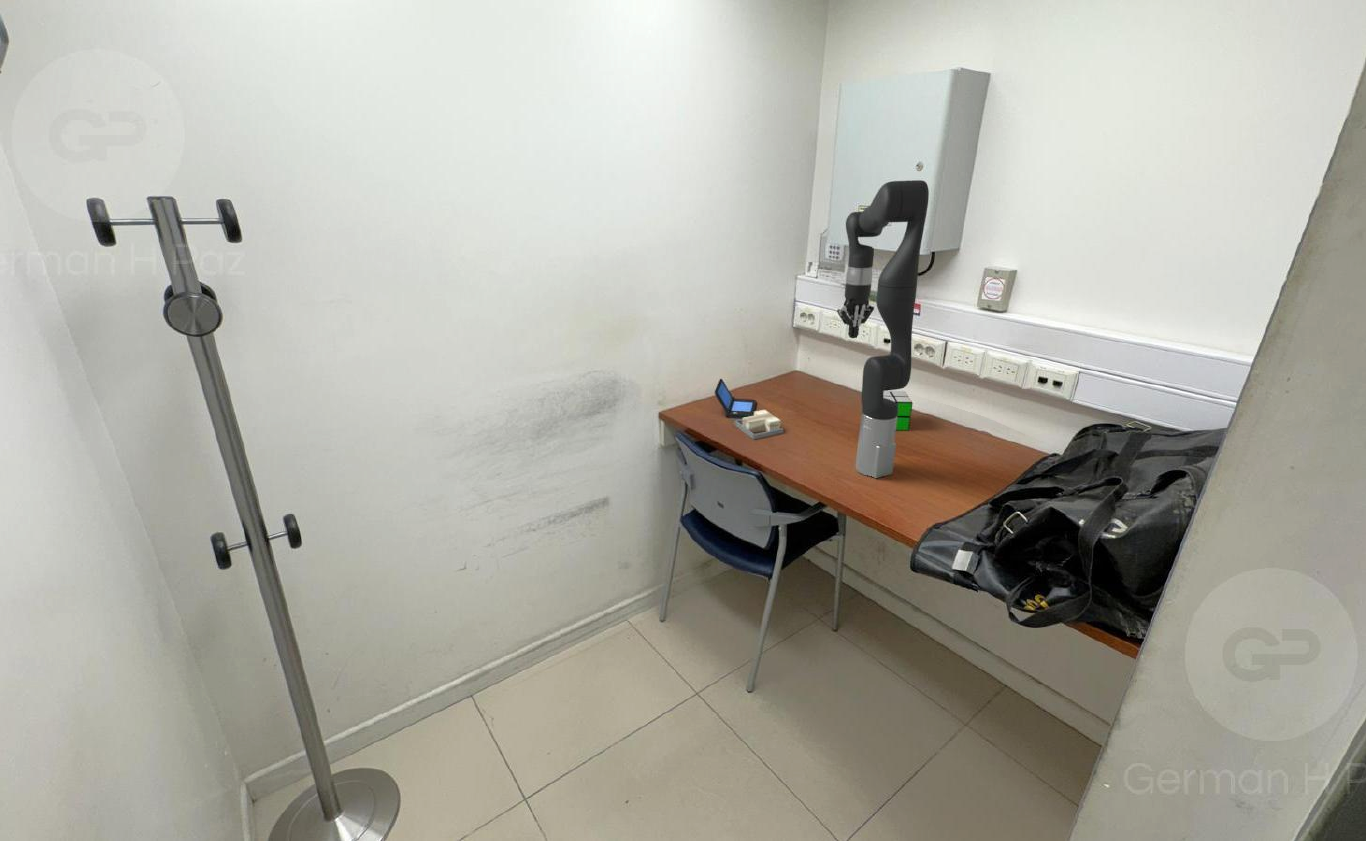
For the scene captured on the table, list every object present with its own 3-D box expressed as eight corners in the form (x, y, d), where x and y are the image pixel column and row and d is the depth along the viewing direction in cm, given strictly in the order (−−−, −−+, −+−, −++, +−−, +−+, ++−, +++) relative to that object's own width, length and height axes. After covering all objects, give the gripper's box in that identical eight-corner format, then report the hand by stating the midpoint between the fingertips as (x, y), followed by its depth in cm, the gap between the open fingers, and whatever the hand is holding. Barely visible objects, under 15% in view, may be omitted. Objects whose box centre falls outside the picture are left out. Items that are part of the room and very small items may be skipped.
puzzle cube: (901, 418, 196) (905, 390, 192) (908, 431, 187) (913, 402, 183) (870, 418, 197) (874, 390, 193) (876, 430, 188) (880, 401, 184)
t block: (779, 431, 188) (780, 420, 187) (753, 437, 185) (753, 425, 183) (763, 420, 197) (764, 409, 195) (737, 425, 193) (738, 414, 192)
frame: (783, 433, 187) (783, 428, 187) (753, 439, 183) (753, 435, 183) (762, 418, 198) (762, 414, 197) (733, 424, 194) (734, 420, 193)
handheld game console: (752, 420, 198) (753, 394, 194) (713, 417, 200) (713, 392, 197) (756, 402, 212) (757, 378, 208) (720, 400, 214) (720, 377, 211)
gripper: (849, 286, 170) (843, 343, 177) (884, 281, 175) (877, 337, 182) (833, 281, 176) (828, 337, 183) (867, 277, 181) (861, 332, 188)
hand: (852, 337), depth 183 cm, fingers closed
